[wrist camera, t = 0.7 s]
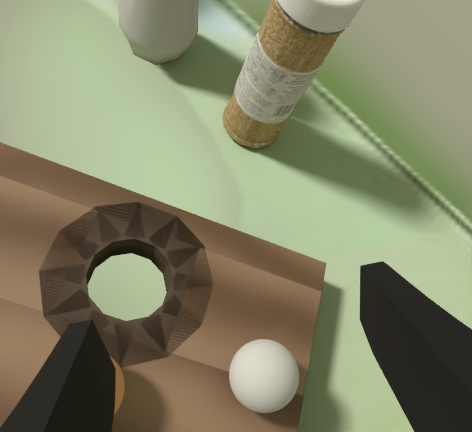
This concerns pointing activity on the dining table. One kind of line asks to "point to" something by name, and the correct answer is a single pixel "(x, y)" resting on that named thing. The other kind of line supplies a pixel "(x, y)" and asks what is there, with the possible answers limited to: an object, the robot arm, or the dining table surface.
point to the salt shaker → (159, 27)
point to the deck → (164, 318)
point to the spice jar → (283, 65)
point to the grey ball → (264, 376)
